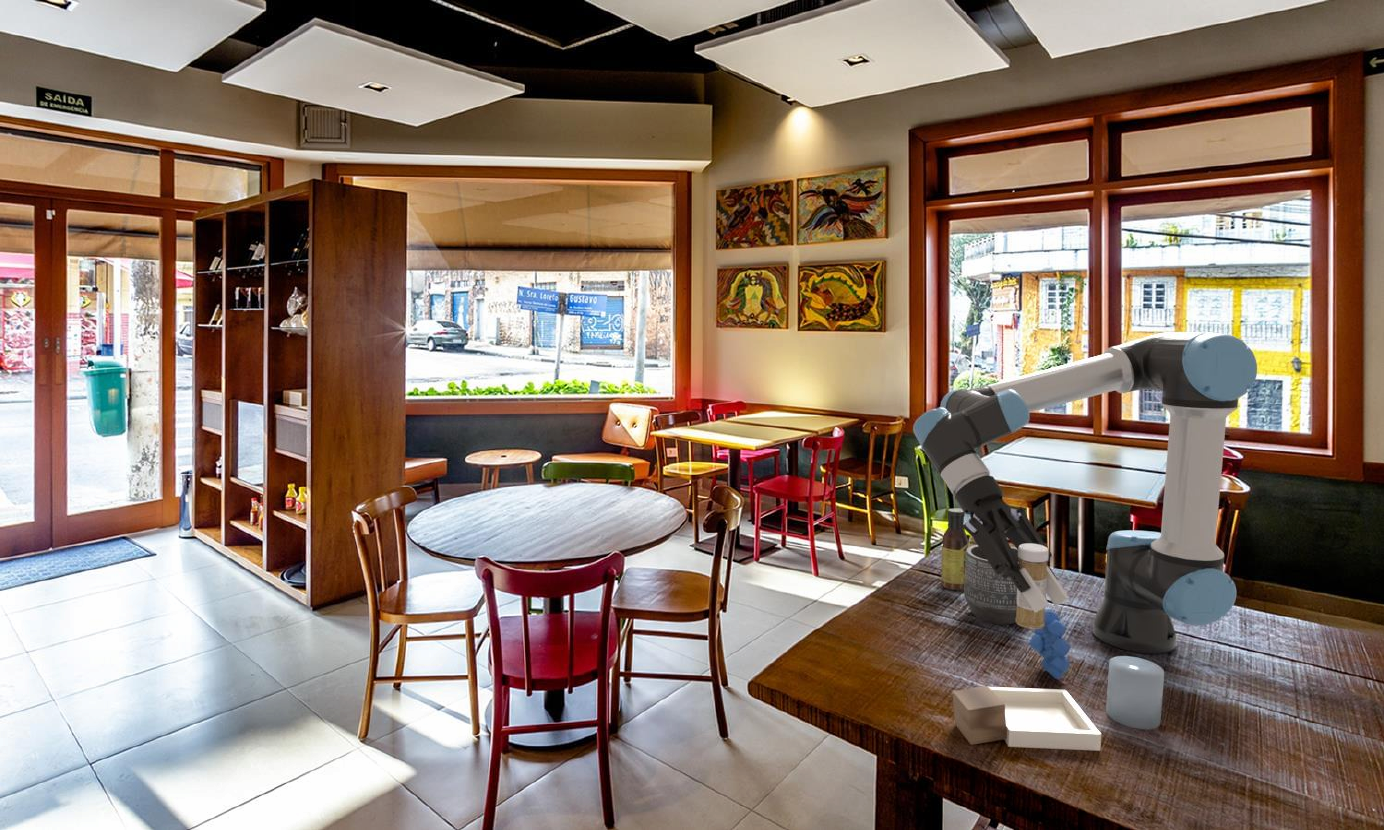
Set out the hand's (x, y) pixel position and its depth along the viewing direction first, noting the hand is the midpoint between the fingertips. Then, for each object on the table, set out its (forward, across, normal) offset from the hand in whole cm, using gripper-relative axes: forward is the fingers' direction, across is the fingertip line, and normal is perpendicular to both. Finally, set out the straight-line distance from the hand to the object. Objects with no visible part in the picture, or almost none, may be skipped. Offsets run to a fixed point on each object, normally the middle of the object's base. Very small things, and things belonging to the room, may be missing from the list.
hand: (1052, 604), depth 119 cm
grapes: (+6, -18, -25) cm, 32 cm away
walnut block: (+12, +10, -19) cm, 24 cm away
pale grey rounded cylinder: (+18, -18, -13) cm, 29 cm away
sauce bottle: (-22, -38, -54) cm, 70 cm away
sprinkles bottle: (+1, 0, -6) cm, 6 cm away
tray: (+14, -1, -17) cm, 22 cm away
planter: (-10, -32, -41) cm, 53 cm away
